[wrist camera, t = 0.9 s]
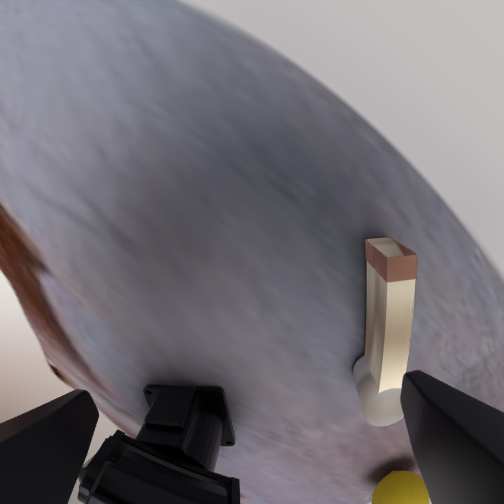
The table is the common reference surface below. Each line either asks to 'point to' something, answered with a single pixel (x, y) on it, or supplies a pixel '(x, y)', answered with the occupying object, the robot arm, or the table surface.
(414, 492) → the lemon
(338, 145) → the table surface
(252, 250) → the table surface
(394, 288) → the cream brown-tipped bar
